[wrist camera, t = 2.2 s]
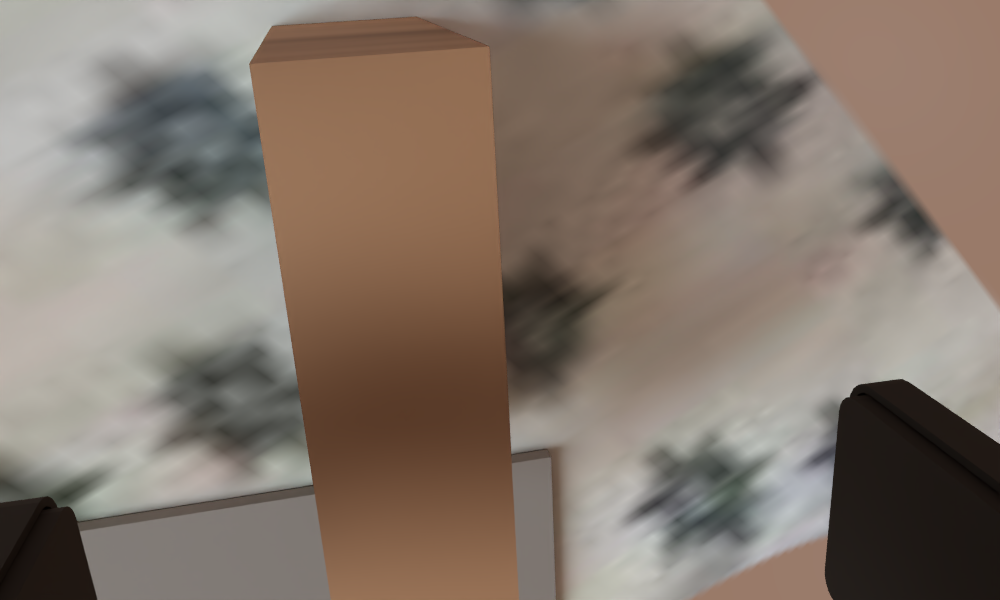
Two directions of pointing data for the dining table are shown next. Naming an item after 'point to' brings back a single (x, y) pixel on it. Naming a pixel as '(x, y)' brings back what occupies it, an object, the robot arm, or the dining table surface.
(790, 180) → the dining table surface
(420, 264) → the slab
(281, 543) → the mat
